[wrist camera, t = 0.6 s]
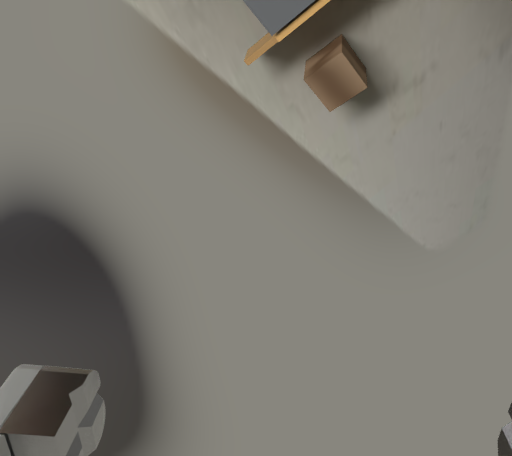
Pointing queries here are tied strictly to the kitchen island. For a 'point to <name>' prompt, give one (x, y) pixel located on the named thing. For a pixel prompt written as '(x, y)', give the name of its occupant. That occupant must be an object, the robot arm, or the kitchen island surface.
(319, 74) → the walnut block
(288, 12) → the grey box
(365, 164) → the kitchen island surface
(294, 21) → the side door
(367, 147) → the kitchen island surface
